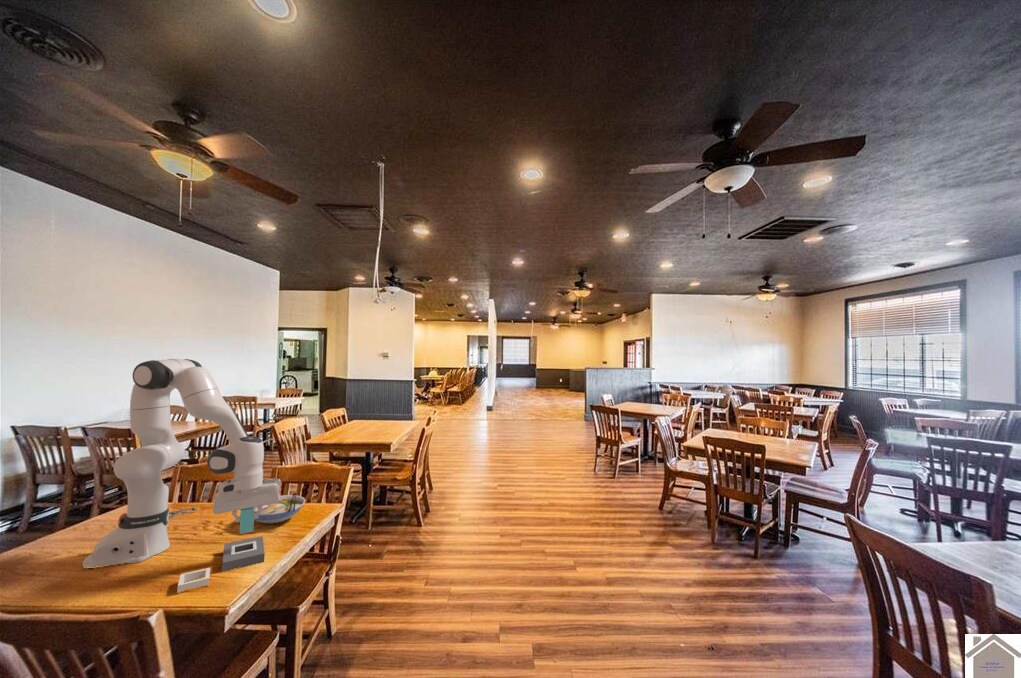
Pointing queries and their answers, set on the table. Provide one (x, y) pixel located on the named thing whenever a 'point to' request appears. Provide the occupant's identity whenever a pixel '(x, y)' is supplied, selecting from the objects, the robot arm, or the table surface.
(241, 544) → the socket block
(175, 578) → the table surface
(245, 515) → the plug
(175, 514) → the knife
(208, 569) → the white square frame
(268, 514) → the ramen bowl
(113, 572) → the table surface
